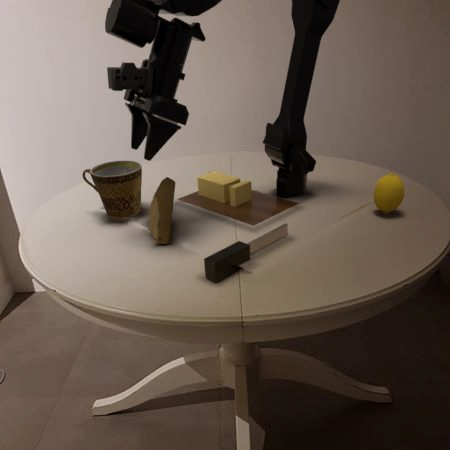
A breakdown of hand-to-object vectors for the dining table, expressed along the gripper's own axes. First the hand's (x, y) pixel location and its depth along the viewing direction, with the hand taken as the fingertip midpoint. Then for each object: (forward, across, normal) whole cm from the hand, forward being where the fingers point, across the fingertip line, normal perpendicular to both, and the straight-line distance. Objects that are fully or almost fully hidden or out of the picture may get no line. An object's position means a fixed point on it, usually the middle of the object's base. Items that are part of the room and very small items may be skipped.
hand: (140, 154), depth 81 cm
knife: (+9, +18, +18) cm, 27 cm away
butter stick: (+4, -9, +22) cm, 24 cm away
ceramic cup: (+15, -12, +3) cm, 19 cm away
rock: (+13, +1, +8) cm, 15 cm away
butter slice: (+4, -3, +24) cm, 25 cm away
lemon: (-5, +14, +46) cm, 48 cm away
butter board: (+5, -5, +24) cm, 25 cm away
